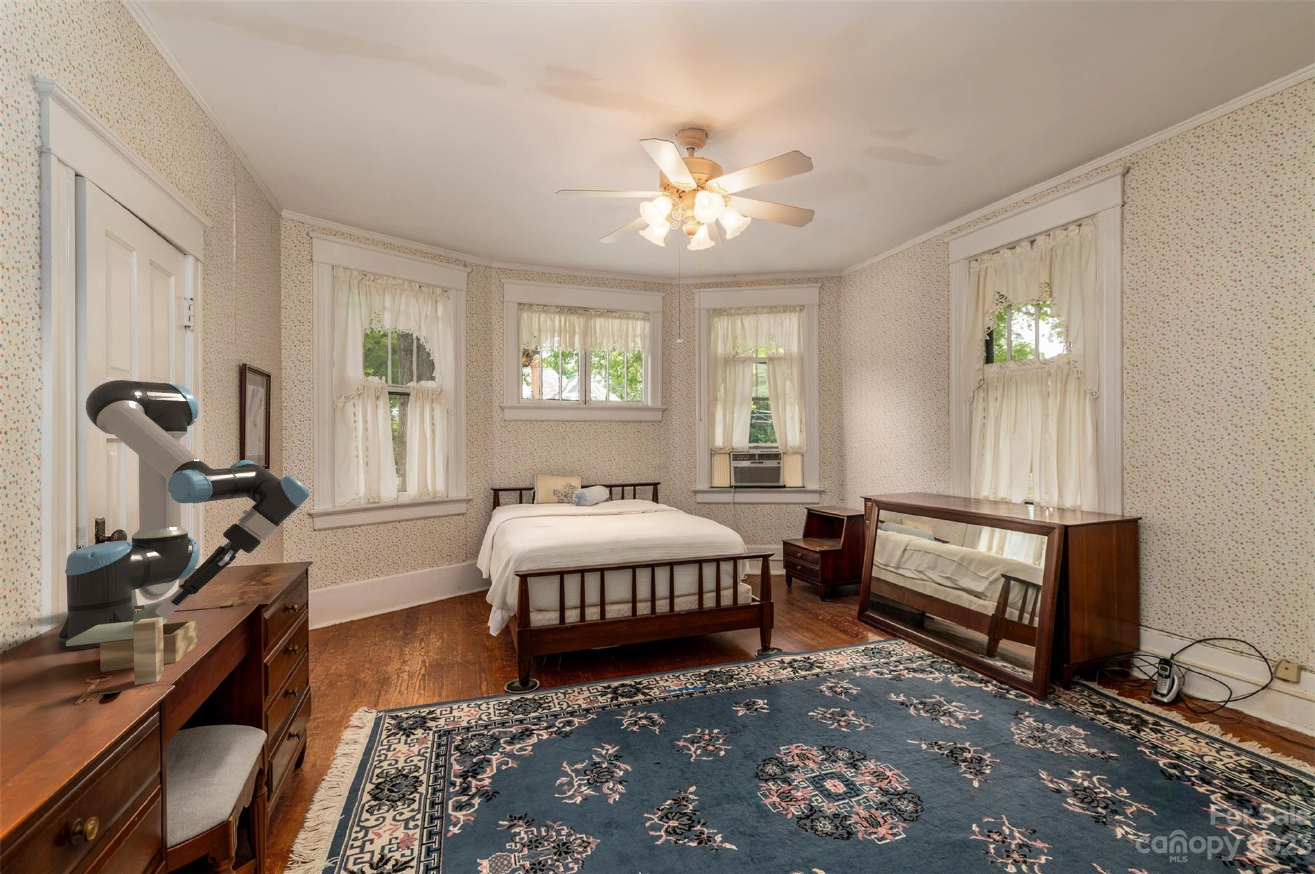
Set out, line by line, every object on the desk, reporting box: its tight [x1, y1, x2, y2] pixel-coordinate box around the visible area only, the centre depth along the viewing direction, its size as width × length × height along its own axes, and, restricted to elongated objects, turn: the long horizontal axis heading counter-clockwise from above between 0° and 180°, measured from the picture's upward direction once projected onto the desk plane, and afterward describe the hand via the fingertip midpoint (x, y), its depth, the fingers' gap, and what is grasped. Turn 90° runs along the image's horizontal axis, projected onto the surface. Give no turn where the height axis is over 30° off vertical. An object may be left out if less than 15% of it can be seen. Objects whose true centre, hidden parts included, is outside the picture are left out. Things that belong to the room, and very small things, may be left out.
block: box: [133, 617, 165, 686], centre depth 118 cm, size 4×4×12 cm
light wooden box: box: [99, 619, 198, 673], centre depth 131 cm, size 12×13×6 cm
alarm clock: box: [131, 543, 180, 609], centre depth 175 cm, size 18×8×20 cm, turn 6°
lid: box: [66, 602, 168, 646], centre depth 129 cm, size 12×13×5 cm
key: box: [74, 674, 113, 705], centre depth 115 cm, size 6×1×15 cm
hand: (160, 615), depth 131 cm, fingers closed
